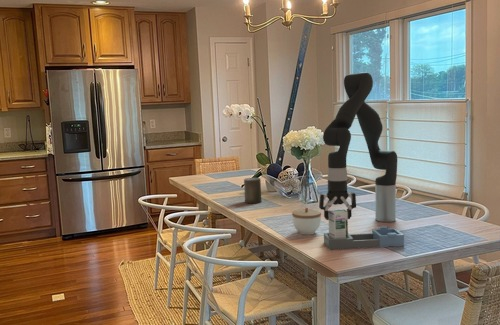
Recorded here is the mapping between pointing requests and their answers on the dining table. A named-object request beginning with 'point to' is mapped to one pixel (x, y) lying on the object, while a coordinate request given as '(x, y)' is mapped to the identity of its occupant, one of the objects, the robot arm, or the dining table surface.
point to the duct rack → (367, 239)
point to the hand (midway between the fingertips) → (337, 219)
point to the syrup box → (338, 224)
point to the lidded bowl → (306, 220)
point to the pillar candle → (252, 190)
